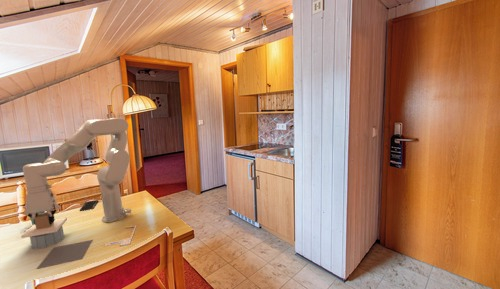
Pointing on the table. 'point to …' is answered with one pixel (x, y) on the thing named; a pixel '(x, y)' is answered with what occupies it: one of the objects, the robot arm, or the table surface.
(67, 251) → the mat
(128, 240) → the photo frame
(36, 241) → the bowl
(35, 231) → the lid
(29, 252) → the table surface
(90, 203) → the phone
